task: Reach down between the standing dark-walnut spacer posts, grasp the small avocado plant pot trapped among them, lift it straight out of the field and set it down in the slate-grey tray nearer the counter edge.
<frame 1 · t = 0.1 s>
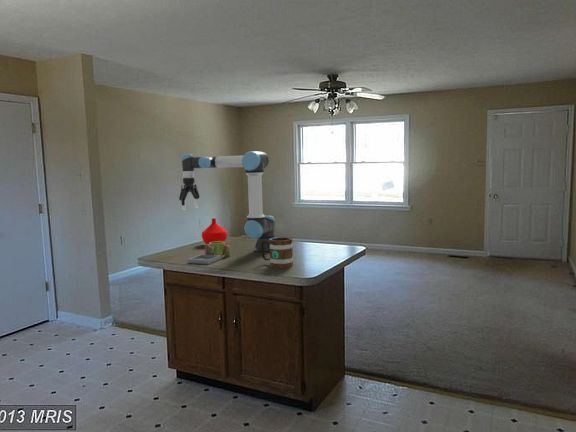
hand: (190, 209, 303), 28 cm above the table, fingers open, 13 cm apart
spacer posts: (217, 256, 284), on the table
plant pot: (217, 256, 284), on the table
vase: (215, 245, 325), on the table
mug: (276, 265, 254), on the table
tray: (204, 261, 269), on the table
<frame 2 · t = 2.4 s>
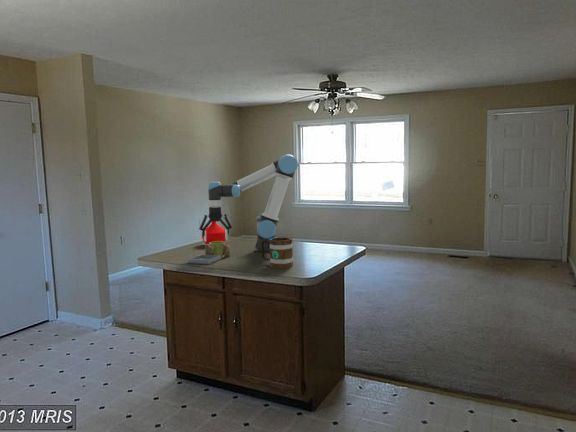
hand: (216, 240, 283), 10 cm above the table, fingers open, 13 cm apart
nothing on the table moved.
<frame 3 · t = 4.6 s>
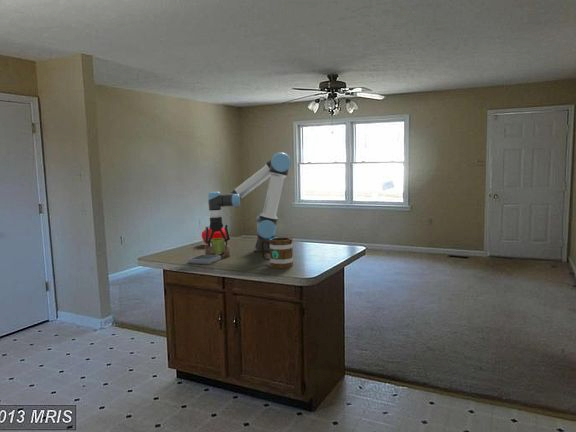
hand: (218, 252, 284), 2 cm above the table, fingers closed on plant pot, 8 cm apart
plant pot: (218, 253, 284), point 2 cm above the table, touching gripper
everything else where it was.
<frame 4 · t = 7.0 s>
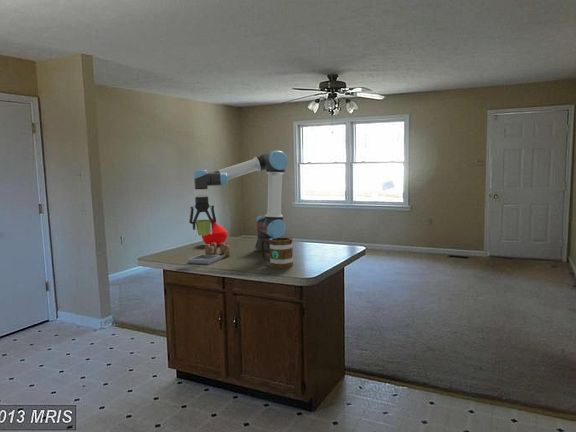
hand: (203, 234, 267), 16 cm above the table, fingers closed on plant pot, 8 cm apart
plant pot: (203, 235, 267), point 16 cm above the table, touching gripper
everything else where it was.
when the fingers open (2 cm above the table, at t = 9.4 s): plant pot drops 2 cm, resting on tray.
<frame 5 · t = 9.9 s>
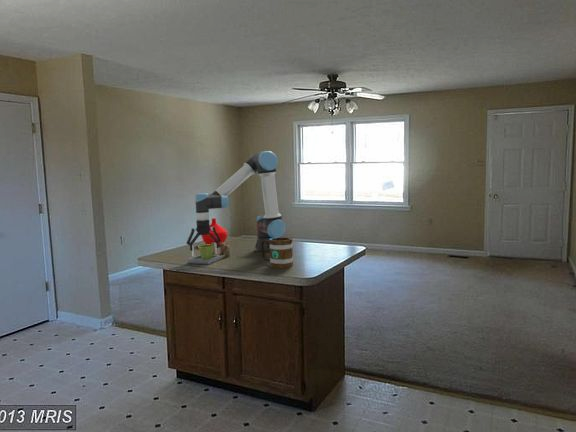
hand: (204, 254, 269), 4 cm above the table, fingers open, 13 cm apart
plant pot: (206, 260, 270), resting on tray
everything else where it was.
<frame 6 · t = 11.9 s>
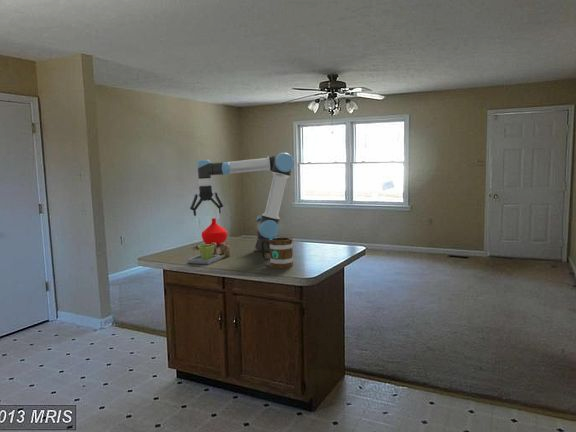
hand: (207, 219, 278), 23 cm above the table, fingers open, 13 cm apart
nothing on the table moved.
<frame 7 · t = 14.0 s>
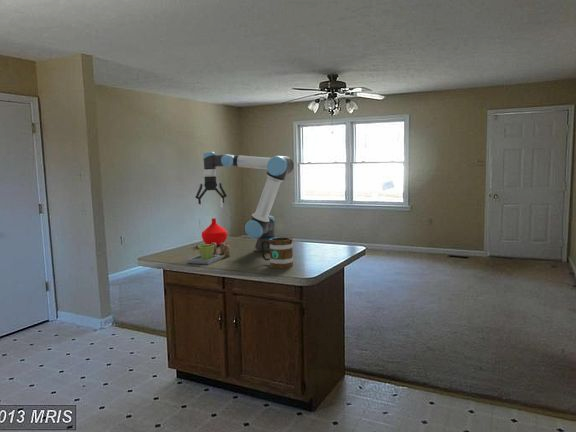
hand: (211, 208, 296), 29 cm above the table, fingers open, 13 cm apart
nothing on the table moved.
at the end: plant pot inside the target area on the tray (1.1 cm from its centre), point 0.4 cm above the tray's base; plant pot tilted 0°; the gripper is holding nothing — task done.
